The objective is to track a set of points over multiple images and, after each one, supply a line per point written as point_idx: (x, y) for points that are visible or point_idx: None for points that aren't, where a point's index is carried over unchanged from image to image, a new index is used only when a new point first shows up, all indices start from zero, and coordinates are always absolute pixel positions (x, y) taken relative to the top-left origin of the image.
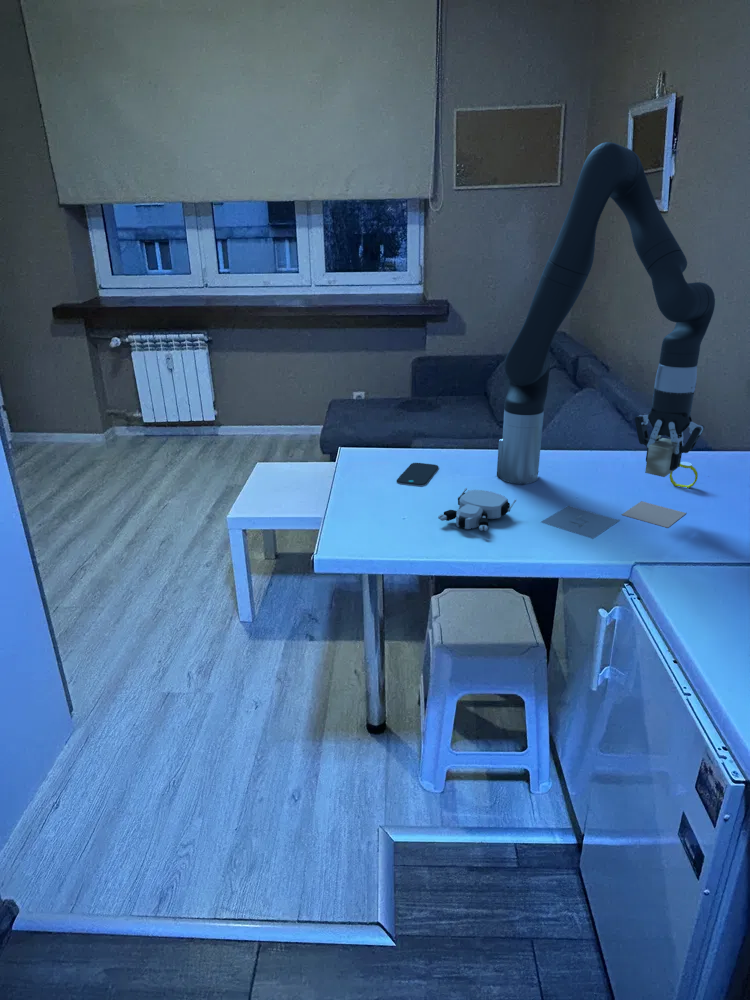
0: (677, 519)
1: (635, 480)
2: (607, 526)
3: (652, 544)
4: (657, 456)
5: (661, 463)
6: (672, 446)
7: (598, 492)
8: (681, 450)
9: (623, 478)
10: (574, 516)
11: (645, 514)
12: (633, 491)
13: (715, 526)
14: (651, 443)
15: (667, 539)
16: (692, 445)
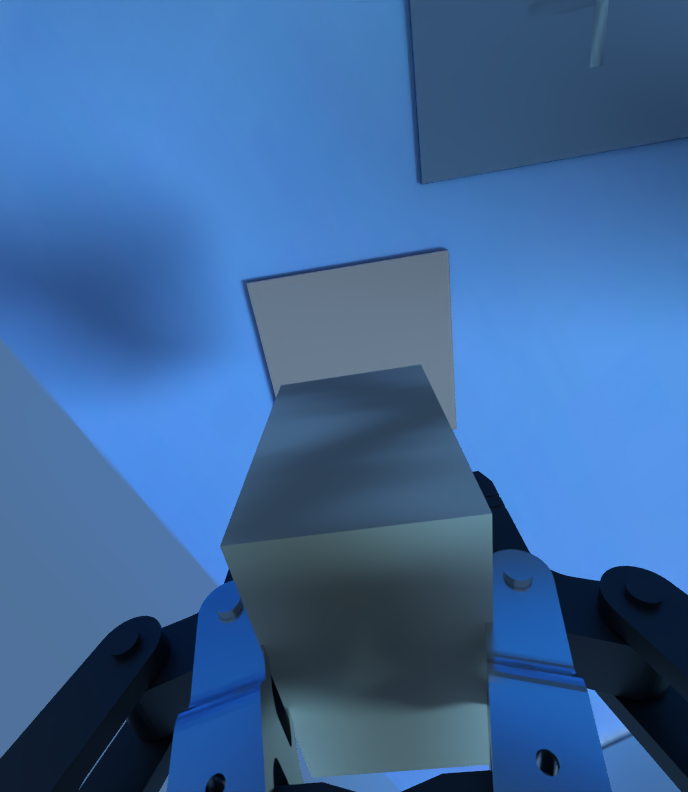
0: (273, 380)
1: (559, 565)
2: (426, 51)
3: (174, 59)
4: (349, 455)
5: (304, 429)
6: (270, 648)
7: (631, 391)
8: (190, 639)
9: (600, 554)
10: (622, 14)
11: (377, 329)
12: (523, 488)
13: (171, 432)
14: (514, 606)
15: (179, 180)
16: (123, 749)
